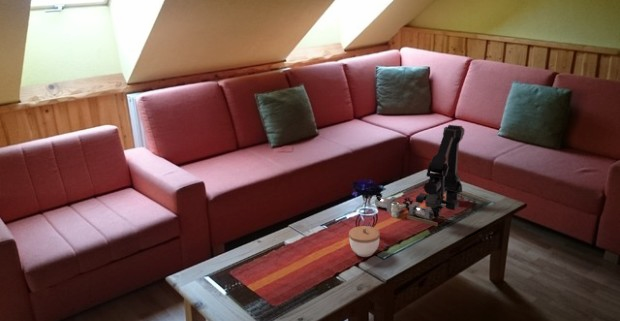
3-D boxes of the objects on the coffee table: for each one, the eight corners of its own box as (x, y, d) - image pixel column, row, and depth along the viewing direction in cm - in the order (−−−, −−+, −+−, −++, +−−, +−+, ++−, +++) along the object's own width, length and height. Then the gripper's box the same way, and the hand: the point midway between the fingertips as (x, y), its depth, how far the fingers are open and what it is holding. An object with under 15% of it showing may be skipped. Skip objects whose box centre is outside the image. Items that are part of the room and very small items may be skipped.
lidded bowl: (345, 257, 213) (345, 233, 209) (353, 243, 224) (353, 220, 220) (375, 262, 209) (375, 237, 205) (382, 247, 220) (382, 223, 216)
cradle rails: (415, 211, 251) (415, 208, 250) (445, 218, 242) (445, 216, 242) (406, 218, 244) (407, 215, 244) (437, 226, 236) (437, 223, 235)
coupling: (408, 217, 245) (409, 206, 243) (414, 213, 249) (414, 202, 248) (428, 222, 239) (429, 211, 237) (434, 218, 244) (434, 206, 242)
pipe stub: (374, 208, 256) (374, 197, 254) (380, 204, 260) (380, 193, 259) (390, 212, 251) (390, 201, 249) (396, 208, 255) (396, 197, 253)
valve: (397, 219, 244) (414, 212, 251) (397, 206, 242) (414, 199, 249) (387, 215, 249) (403, 207, 256) (387, 202, 247) (404, 195, 254)
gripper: (410, 188, 234) (409, 220, 239) (450, 196, 223) (448, 229, 228) (421, 180, 242) (420, 211, 247) (460, 188, 232) (458, 220, 237)
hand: (436, 218), depth 240 cm, fingers closed
